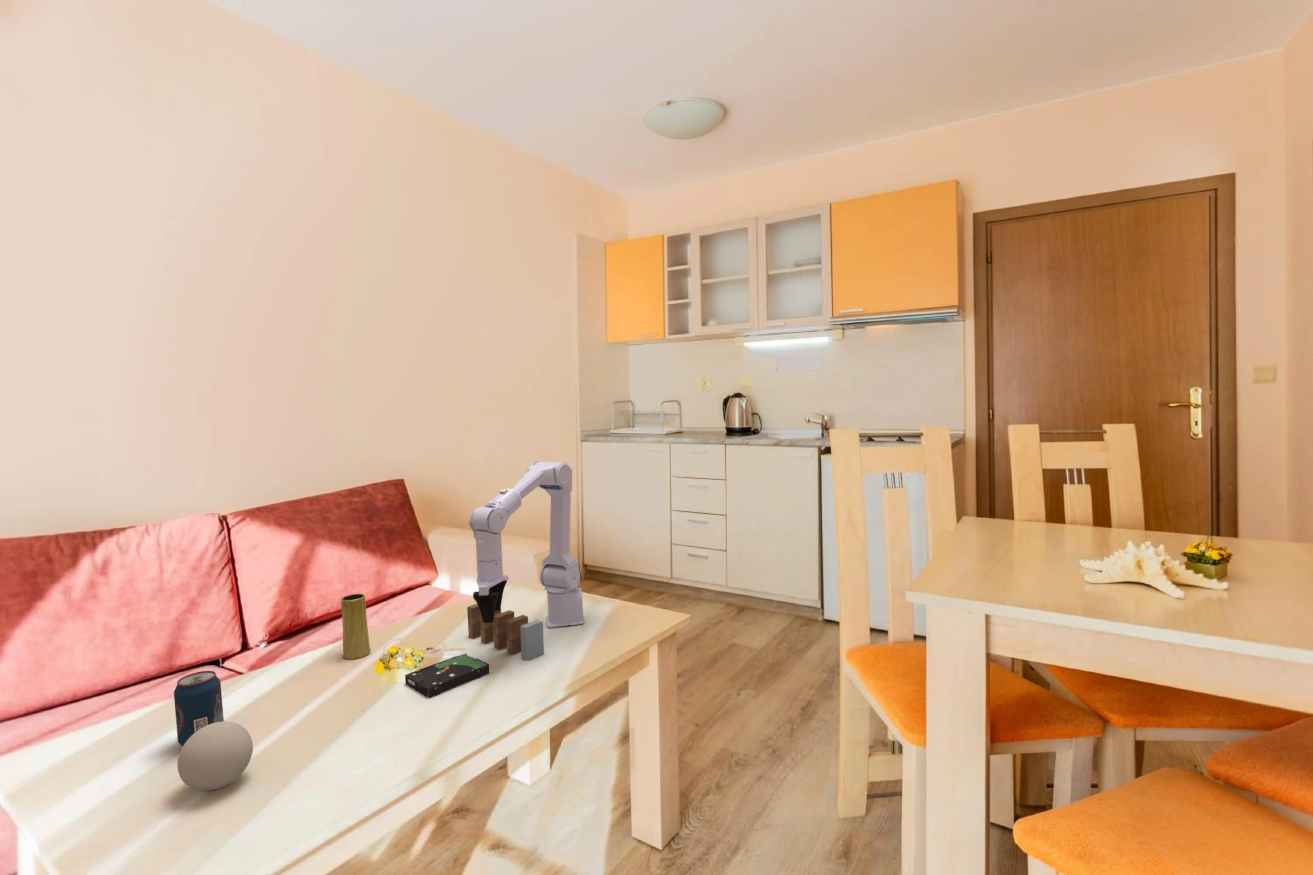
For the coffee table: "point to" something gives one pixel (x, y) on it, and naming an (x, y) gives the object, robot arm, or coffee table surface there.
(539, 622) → the domino
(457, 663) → the disk drive
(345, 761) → the coffee table surface
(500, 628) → the brown wooden block
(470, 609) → the pushed domino
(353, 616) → the vase
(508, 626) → the domino
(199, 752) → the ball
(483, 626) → the domino
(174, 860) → the coffee table surface
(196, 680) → the soda can
